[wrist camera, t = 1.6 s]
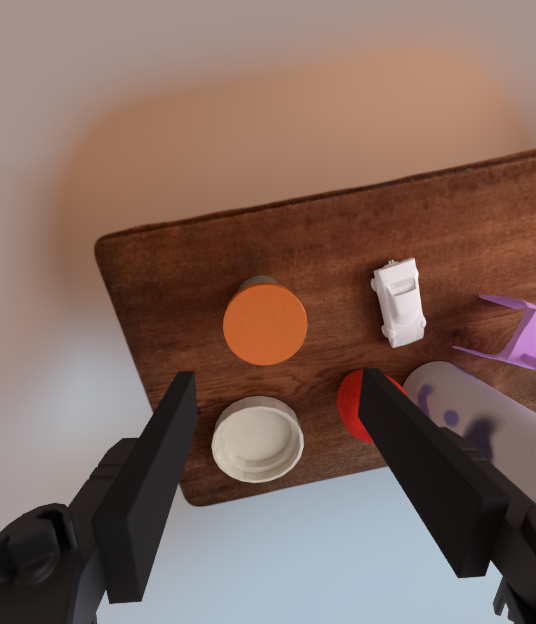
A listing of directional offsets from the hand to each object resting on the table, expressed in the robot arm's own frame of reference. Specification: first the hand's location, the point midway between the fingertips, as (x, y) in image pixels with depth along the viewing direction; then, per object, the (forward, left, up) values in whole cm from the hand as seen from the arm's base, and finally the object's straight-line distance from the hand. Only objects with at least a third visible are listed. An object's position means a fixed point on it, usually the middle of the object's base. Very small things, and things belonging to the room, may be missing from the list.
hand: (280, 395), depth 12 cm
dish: (+10, -18, -21) cm, 30 cm away
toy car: (+16, +9, -22) cm, 28 cm away
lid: (0, 0, -11) cm, 11 cm away
